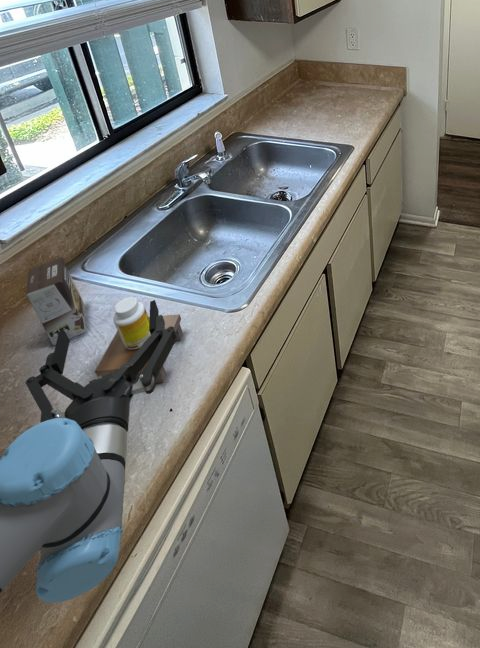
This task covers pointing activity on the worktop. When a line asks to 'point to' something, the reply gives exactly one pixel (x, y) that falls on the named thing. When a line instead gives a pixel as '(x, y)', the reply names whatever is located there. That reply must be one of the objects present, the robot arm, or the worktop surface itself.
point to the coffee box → (56, 299)
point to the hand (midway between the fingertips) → (111, 320)
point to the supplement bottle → (132, 322)
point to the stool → (132, 351)
